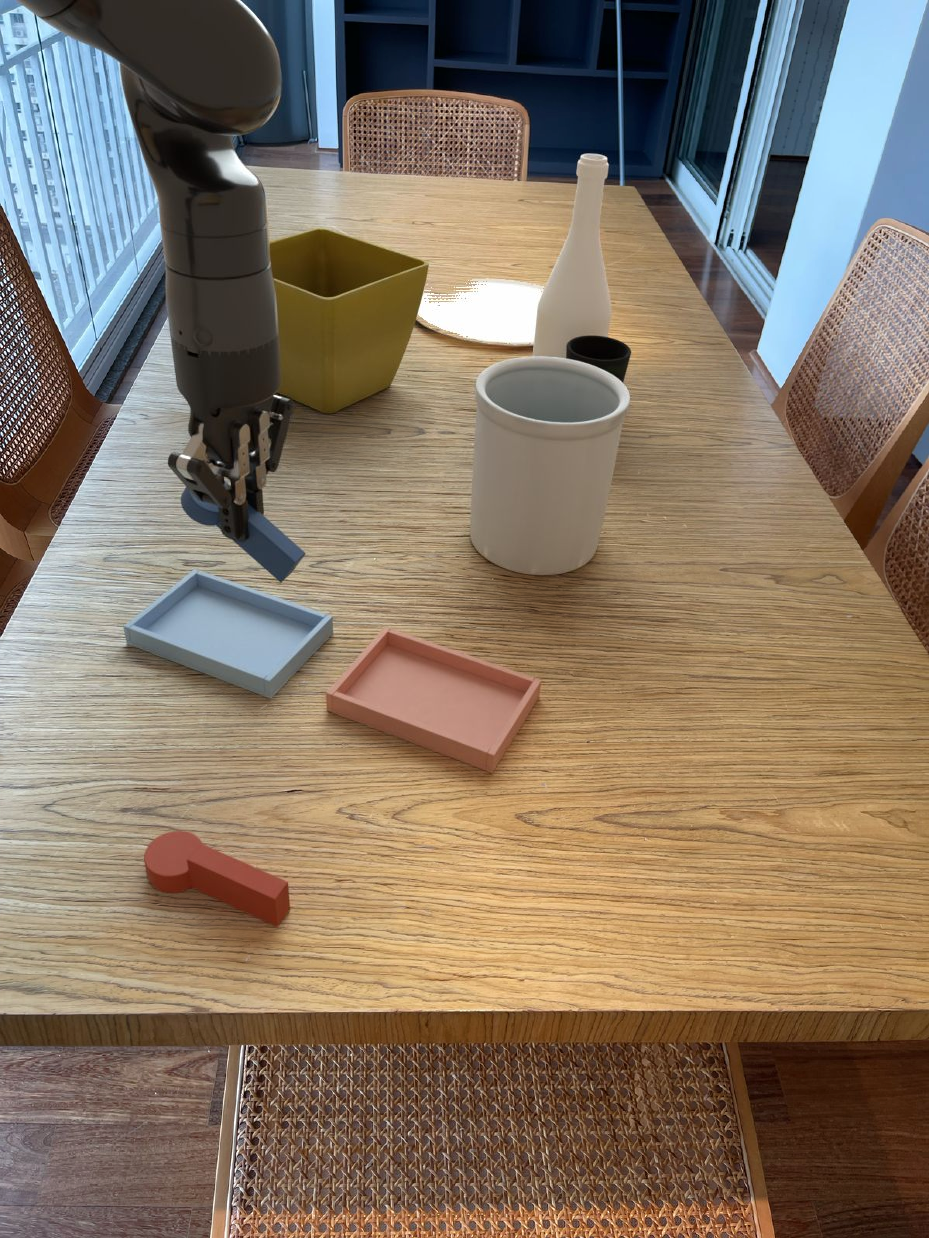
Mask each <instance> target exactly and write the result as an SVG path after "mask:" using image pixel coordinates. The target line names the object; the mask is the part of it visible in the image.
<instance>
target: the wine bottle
mask: <svg viewBox="0 0 929 1238" xmlns="http://www.w3.org/2000/svg"><path fill="white" fill-rule="evenodd" d="M609 166H610V164H609V163H608V157H607V156H605V155H603V154H599V153H583V154H581V155H580V158H579V159H578V161H577V166H576V173H575V174H576V176H577V182H576V188H575V196H574V203H573V210H572V216H571V224H570V228H569V230H568V234H567V237H566V238H565V241H564V244H563V246H562V248H561V250H560V253H559V255H558V257H557V259H556V261H555V264H554V266H553V268H552V271H551V273H550V275H549V277H548V278H547V281H546V283H545V284H546V286H545V288H544V290H543V293H542V295H541V298H540V300H539V303H538V308H537V318H536V327H535V337H534V346H532V347H533V348H532V356H545V357H558V358H565V359H566V345H567V343H568V342H569V341H570V340H571V339H574V338H576V337H580V336H588V335H591V336H604V337H609V333H610V327H611V320H612V314H613V312H612V302H611V295H610V291H609V284H608V279H607V274H606V273H607V272H606V267H605V261H604V256H603V251H602V244H601V235H600V233H601V232H600V225H601V217H602V207H603V198H604V189H605V180H606V179H607V178H608V174H609Z"/></svg>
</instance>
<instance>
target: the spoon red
mask: <svg viewBox="0 0 929 1238" xmlns="http://www.w3.org/2000/svg"><path fill="white" fill-rule="evenodd" d="M143 862H144V866H145V872H146V875H147V880H148V882H149V884H150V885H151V886H152V887H153V888H155V889H156V890H158V891H161V892H164V893H170V894H171V893H172V894H173V893H181V892H184V891H187V890H189V889H191V888H192V889H194V890H196V891H199V892H200V893H202V894H205V895H207V896H209V897H211V898H213V899H216V900H218V901H220V902H222V903H224V904H226V905H228V906H231V907H233V908H235V909H237V910H240V911H242V912H244V913H246V914H248V915H251V916H253V917H255V918H257V919H259V920H261V921H263V922H265V923H267V924H269V925H272V926H274V927H276V928H278V927H279V925H280V924H281V923H282V921H283V920H284V919H285V917H286V916H287V914H288V913H289V912H290V911H291V905H290V904H291V903H290V890H289V889H290V888H289V881H287V880H284V879H282V878H280V877H278V876H276V875H273V874H271V873H269V872H266V871H264V870H262V869H259V868H257V867H255V866H253V865H251V864H248V863H247V862H244V861H243V860H239V859H237V858H235V857H233V856H230V855H228V854H226V853H223V852H222V851H219V850H217V849H215V848H213V847H210V846H208V845H205V844H204V843H203V842H202V840H201V839H200V837H198V835H196V834H194V833H192V832H189V831H186V830H185V831H184V830H173V831H168V832H165V833H163V834H160V835H159V836H157V837H156V838H154V839H153V840H152V841H151V842H150V843H149V844H148V846H147V847H146V849H145V852H144V855H143Z"/></svg>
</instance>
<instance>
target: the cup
mask: <svg viewBox="0 0 929 1238" xmlns="http://www.w3.org/2000/svg"><path fill="white" fill-rule="evenodd" d="M631 356H632V350H631V348H630V347H629V345H628V344H626V343H625V342H623V341H621V340H618V339H616V338H613V337H610V336H608V337H604V336H591V335H588V336H580V337H576V338H574V339H571V340H570V341H569V342H568V343H567V345H566V359H571V360H576V361H580V362H584V363H587V364H590V365H593V366H596V367H598V368H600V369H602V370H605V371H606V372H608V373H610V374H612V375H614V376H615V377H616V378H618V379H619V380H620V381H621V382H622V383H623V384H624V383H625V378H626V374H627V370H628V366H629V363H630V359H631Z"/></svg>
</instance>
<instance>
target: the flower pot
mask: <svg viewBox="0 0 929 1238" xmlns="http://www.w3.org/2000/svg"><path fill="white" fill-rule="evenodd" d="M269 241H270V240H269ZM270 258H271V269H272V274H273V279H274V284H275V290H276V298H277V314H278V330H279V346H280V363H281V386H280V388H279V390H278V391H277V393H278V394H280V395H282V396H285V397H286V398H288V399H291V400H293V401H296V402H298V403H300V404H302V405H305V406H307V407H309V408H311V409H314V410H317V411H318V412H321V413H323V414H334V413H336V412H338V411H340V410H343V409H344V408H348V407H349V406H351V405H353V404H356V403H357V402H360V401H361V400H363V399H367V398H368V397H370V396H372V395H374V394H376V393H379V392H381V391H383V390H385V389H387V388H389V387H390V386H392V383H393V381H394V379H395V377H396V375H397V372H398V370H399V368H400V365H401V363H402V361H403V358H404V355H405V354H406V350H407V347H408V345H409V342H410V339H411V337H412V333H413V330H414V327H415V324H416V322H417V320H416V318H417V315H418V311H419V307H420V304H421V300H422V296H423V292H424V288H425V285H426V283H427V277H428V273H429V267H430V262H429V261H428V260H425V259H422V258H419V257H416V256H413V255H410V254H406V253H403V252H401V251H397V250H394V249H392V248H388V247H385V246H382V245H379V244H376V243H373V242H370V241H367V240H364V239H361V238H358V237H355V236H352V235H350V234H345V233H343V232H339V231H336V230H333V229H330V228H326V227H325V228H324V227H315V228H312V229H308V230H305V231H302V232H298V233H295V234H292V235H291V234H290V235H288V236H283V237H281V238H277V239H273V240H271V241H270ZM277 393H276V394H277Z"/></svg>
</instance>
